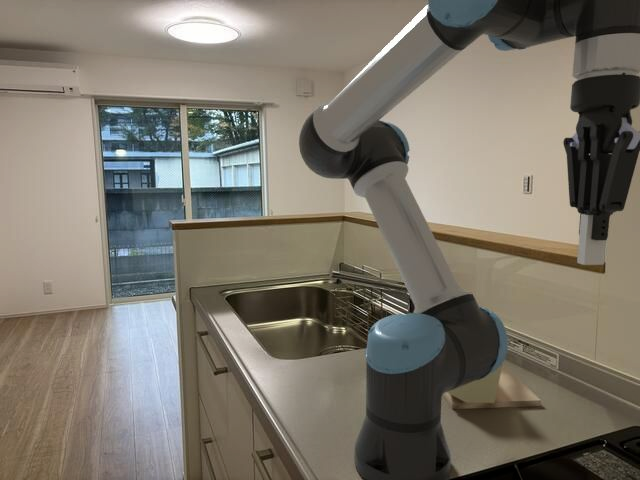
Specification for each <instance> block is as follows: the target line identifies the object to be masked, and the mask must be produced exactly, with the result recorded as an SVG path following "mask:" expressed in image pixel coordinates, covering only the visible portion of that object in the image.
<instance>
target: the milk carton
mask: <svg viewBox="0 0 640 480" xmlns="http://www.w3.org/2000/svg"><path fill="white" fill-rule="evenodd" d="M502 367H503V364H502V365H501V366H500V367H499V368H498V369H497V370H495V371H494V372H492V373H490V374H489V375H488V376H486V377H485V378H482V379H480V380H476V381H473V382H470V383H468V384H465V385H463V386H461V387H458V388H456V389H453V390H450V391H448V392H447V393H449V394H451V395H453V396H455V397H456V398H458V399H460V400H462V401H464V402H466V403H494V402H495V398H496V393H497V389H498V384H499V379H500V375H501V370H502Z"/></svg>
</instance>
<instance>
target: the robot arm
mask: <svg viewBox="0 0 640 480" xmlns="http://www.w3.org/2000/svg"><path fill="white" fill-rule="evenodd" d="M483 35H485V36H486V35H487V37H488V40H489V41H490V42H491V43H492V44H493V45H494V48H495V49H497V50H499V51H502V52H503V51H504V52H507V51H513V50H519V51H521V50H525V49H528V48H530V47H534V46H539V45H543V44H547V43H551V42H555V41H556V42H557V41H559V40H565V39H569V38H573V37H575V42H574V43H575V44H574V53H573V55H574V56H573V64H572V66H573V67H572V77H573V78H574V79H576V80H575V81H574V82H573V83H572V85H571V95H570V110H571V111H572V112H574V113H577V114H578V115H579V116H578V120H577V123H576V126H575V133H574V134H573V136H571V137H565V138H564V139H563V143H562V144H563V147H564V150H565V154H566V163H567V164H566V166H567V181H568V197H569V198H568V199H569V206H570V208H576V209H577V213H578V214H579V224H578V225H579V226H578V228H579V229H578V237H579V238H578V249H577V261H576V263H577V264H579V265H583V266H594V265H595V266H600V265H601V266H602V265H603V266H604V265H605V257H606V256H605V254H606V244H607V239H608V237H609V227H610V217H611V216H612V215H613V214H614V213H616V212H622V211H624V210H625V206H626V203H627V199H628V196H629V190H630V188H631V185H632V180H633V176H634V172H635V169H636V165H637V161H638V157H639V155H640V130H636V128H634V127H633V126H632V125H633V117H632V114H631V110H634V109H636V108H638V107H639V106H640V76H639V75H638V74H640V0H427V5H426V6H425V7H424V8H423V9H422V10H421V11H420V12H419V13H418V14H417V15H416V16H415V17H414V18H413V19H412V20H411V21H410V22H409V23H408V24H407V25H406V26H405V27H404V28H403V29H402V30H401V31H400V32H399V33H398V34H396V36H395V37H394V38H393V39H392V40H391V41H390V42H389V43H388V44H387V45H386V46H385V47H384V48H383V49H382V50H381V51H380V52H379V53H378V54H377V55H376V56H375V57H374V58H373V59H372V60H370V62H369V63H368V64H367V65H366V66H365V67H364V68H363V69H362V70H361V71H360V72H359V73H358V74H357V75H356V76H355V77H354V78H353V79H352V80H351V81H350V82H349V83H348V84H347V85H346V86H345V87H344V88H343V89H342V90H341V91H340V92H339V93H338V94H337V95H336V96H335V97H334V98H333V99H331V101H329V102H328V101H327V102H322V103H321V104H319V105H318V106H317V107H316V108H315V109H314V110H312V112H311V114H309V116H308V117H307V118H306V119H305V121H304V123H303V125H302V126H301V129H300V134H299V138H298V145H299V147H298V149H299V152H300V156H301V158H302V160H303V162H304V164H305V165H306V166H307V168H308V169H310V170H311V171H312V173H315V174H316V175H317V176H319V177H322V178H326V179H333V180H334V179H335V180H336V179H337V180H338V179H339V180H340V179H342V180H343V179H344V180H345V179H347V180H348V181H349V183H350V186H351V187H352V190H353V191H354V194H355V195H357V196H358V197H361V198H364V199H365V200H366V202H367V204H368V207H369V208H370V211H371V213H372V215H373V218H374V220H375V221H376V224H377V226H378V229H379V231H380V233H381V235H382V237H383V240H384V242H385V244H386V246H387V249H388V251H389V253H390V255H391V257H392V259H393V262H394V264H395V266H396V268H397V270H398V273H399V274H400V276H401V279H402V281H403V283H404V285H405V288H406V290H407V292H408V295H409V297H410V299H411V301H412V303H413V305H414V310H413V312H408V313H406V314H403V313H397V314H391V315H388V316H386V317H383V318H381V319H379V320H378V321H376V322H375V323H374V324H373V325H372V326H371V328H370V329H369V331H368V333H367V343H366V344H367V345H366V349H365V360H366V361H365V362H366V365H365V367H366V370H365V372H366V373H365V374H366V376H365V378H366V380H365V381H366V383H365V384H366V385H365V386H366V390H365V391H366V393H365V394H366V396H365V398H366V399H365V401H366V402H365V404H366V405H365V417H364V419H363V421H362V425H361V428H360V430H359V432H358V433H359V434H358V436H357V439H356V442H355V444H354V454H353V455H354V460H353V461H354V466H355V469H356V471H357V472H358V474H359V475H360V476H361V477H362V478H363V479H365V480H448V479H449V477H450V475H451V461H452V459H451V453H450V448H449V445H448V442H447V438H446V436H445V433H444V429H443V426H442V419H441V418H442V417H441V416H442V398H443V397H442V396H443V395H442V394H443V393H446V392H448V391H450V390H453V389H456V388H458V387H461V386H463V385H465V384H468V383H470V382H473V381H476V380H480V379H482V378H485V377H486V376H488V375H489V374H490V373H492V372H494V371H495V370H497V369H498V368H499V367H500V366H501V365H502V366H503V363H504V362H505V359H506V356H507V353H508V350H509V340H508V333H507V329H506V327H505V326H504V323H503V321H502V320H501V318H500V317H499V316H498V314H496V313H495V312H494V311H491V310H489V309H488V308H486V307H483V306H479V303H478V301H477V300H476V298H475V296H474V294H473V293H472V292H471V291H469V290H466V289H463V288H461V287H460V286H459V283H458V282H457V279H456V278H455V275H454V274H453V272H452V270H451V267H450V266H449V264H448V261H447V260H446V257H445V256H444V254H443V252H442V249H441V248H440V245H439V243H438V242H437V239H436V238H435V236H434V234H433V232H432V229H431V227H430V226H429V224H428V222H427V220H426V218H425V215H424V214H423V212H422V209H421V208H420V206H419V204H418V202H417V199H416V198H415V195H414V194H413V192H412V189H411V187H410V186H409V184H408V182H407V180H406V177H407V176H408V173H409V166H408V164H409V161H410V156H409V155H408V153H409V152H410V146H409V142H408V138H407V137H406V135H405V133H404V132H403V130H401V128H400V127H398V126H397V125H395V124H393V123H390V122H387V121H383V120H381V119H382V118H383V117H385V116H386V115H387V114H388V113H389V112H391V110H394V108H395V107H397V106H398V105H399V104H400V103H402V101H404V100H405V99H406V98H408V96H410V95H411V94H412V93H413V92H415V91H416V90H417V89H418V88H419V87H420V86H422V85H423V84H424V83H425V82H427V81H428V80H429V79H430V78H432V76H433V75H435V74H436V73H438V71H440V70H441V69H442V68H443V67H445V66H446V65H447V64H448V63H450V61H452V60H453V59H454V58H455V57H456V56H457V55H459V54H460V53H461V52H463V51H464V50H465V49H466V48H467V47H469V46H470V45H471V44H473V43H474V42H475V41H476V40H478V38H480V37H481V36H483Z"/></svg>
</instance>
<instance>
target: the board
mask: <svg viewBox="0 0 640 480" xmlns="http://www.w3.org/2000/svg"><path fill="white" fill-rule="evenodd" d="M442 396H443V397H442V398H444V400H445V401H446V402H447V404H448V405H449V407H450V408H451V410H461V409H465V410H466V409H490V408H491V409H493V408H496V409H497V408H520V407H521V408H522V407H541V406H542V405H541V404H542V402H541V401H542V400H541V399H540V398H539V397H538V396H537V395H536V394H535V393H534V392H532V391H531V390H530V389H529V388H528V387H527V386H526V385H525V384H523V382H522V381H520V380H519V379H518V378H517V377H516V376H515V375H514V374H513V373H512V372H510V371H509V370H508V369H507V368H506V367H505V366H502V370H501V375H500V379H499V384H498V389H497V393H496V398H495V402H494V403H466V402H464V401H462V400H460V399H458V398H456V397H455V396H453V395H451V394H449V393H447V392H446V393H443V394H442Z"/></svg>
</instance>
